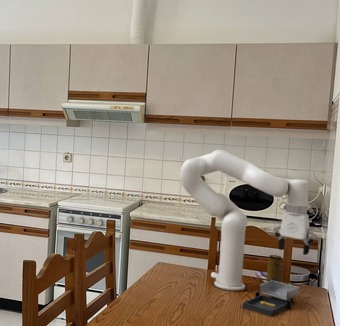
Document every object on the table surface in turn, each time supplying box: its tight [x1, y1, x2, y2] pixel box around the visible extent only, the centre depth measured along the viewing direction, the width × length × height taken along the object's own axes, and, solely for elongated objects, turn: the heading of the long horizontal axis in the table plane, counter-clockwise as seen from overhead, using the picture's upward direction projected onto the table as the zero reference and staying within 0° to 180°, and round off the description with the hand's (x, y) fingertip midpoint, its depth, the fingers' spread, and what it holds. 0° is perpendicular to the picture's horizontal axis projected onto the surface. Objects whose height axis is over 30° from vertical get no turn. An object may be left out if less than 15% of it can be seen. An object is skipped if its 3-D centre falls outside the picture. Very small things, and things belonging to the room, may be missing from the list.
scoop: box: [259, 280, 300, 301], centre depth 195 cm, size 11×17×4 cm
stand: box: [254, 290, 294, 310], centre depth 192 cm, size 13×10×3 cm
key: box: [260, 301, 276, 307], centre depth 187 cm, size 6×2×1 cm, turn 51°
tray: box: [242, 294, 288, 317], centre depth 185 cm, size 11×15×2 cm
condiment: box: [261, 254, 283, 283], centre depth 218 cm, size 7×8×12 cm
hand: (293, 251), depth 200 cm, fingers open, 9 cm apart
